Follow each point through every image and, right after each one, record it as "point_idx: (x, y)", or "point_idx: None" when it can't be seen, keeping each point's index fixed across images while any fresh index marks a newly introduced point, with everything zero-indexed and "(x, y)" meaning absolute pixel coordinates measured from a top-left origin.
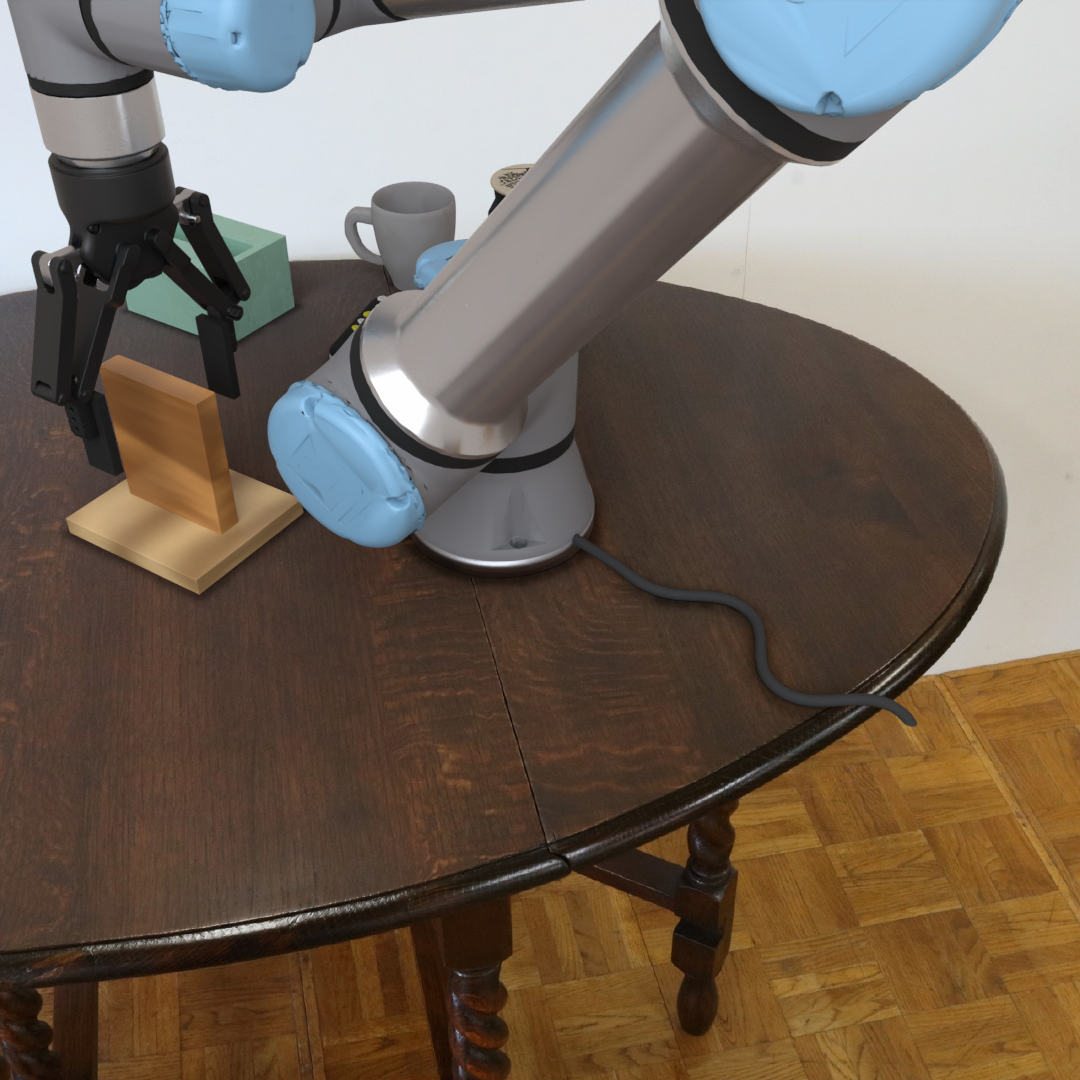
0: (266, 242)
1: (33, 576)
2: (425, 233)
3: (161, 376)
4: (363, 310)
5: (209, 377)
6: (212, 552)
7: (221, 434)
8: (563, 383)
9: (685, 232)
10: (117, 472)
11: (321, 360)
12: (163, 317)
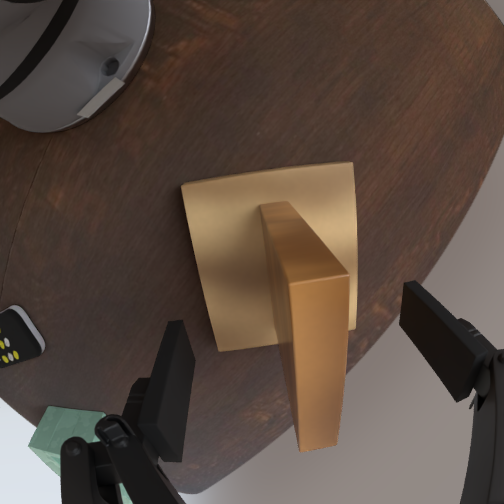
0: (41, 451)
1: (400, 292)
2: None
3: (310, 389)
4: (7, 365)
5: (191, 371)
6: (314, 183)
7: (277, 243)
8: None
9: None
10: (414, 282)
11: (50, 354)
12: None
